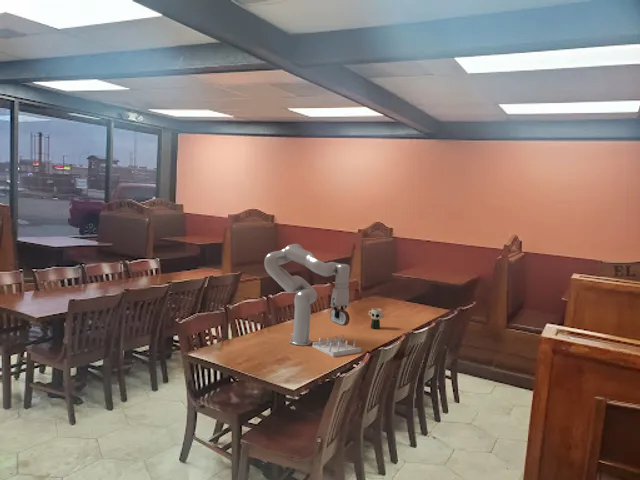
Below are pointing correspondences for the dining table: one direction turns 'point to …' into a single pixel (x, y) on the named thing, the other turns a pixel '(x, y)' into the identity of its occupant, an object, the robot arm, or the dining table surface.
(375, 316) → the character mug
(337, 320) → the tin
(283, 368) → the dining table surface
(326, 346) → the dish rack
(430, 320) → the dining table surface
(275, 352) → the dining table surface
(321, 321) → the dining table surface
